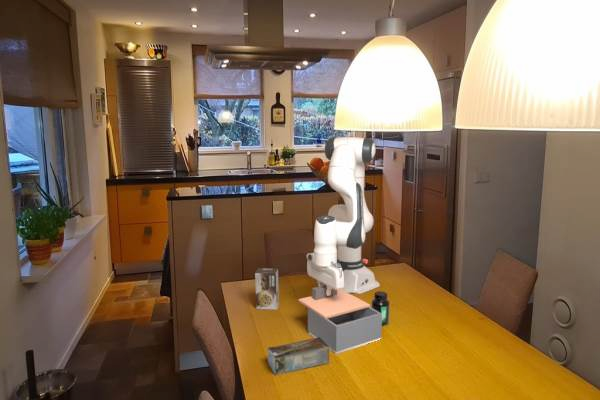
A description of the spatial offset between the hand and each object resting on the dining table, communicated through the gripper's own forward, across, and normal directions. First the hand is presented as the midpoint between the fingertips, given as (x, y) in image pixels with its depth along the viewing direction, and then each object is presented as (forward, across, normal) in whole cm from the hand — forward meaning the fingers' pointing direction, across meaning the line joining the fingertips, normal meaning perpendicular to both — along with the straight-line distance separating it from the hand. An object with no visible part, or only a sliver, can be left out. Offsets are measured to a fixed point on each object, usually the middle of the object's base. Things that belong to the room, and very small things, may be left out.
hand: (324, 293), depth 172 cm
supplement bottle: (+12, -11, -19) cm, 25 cm away
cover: (+2, -6, 0) cm, 6 cm away
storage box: (+12, -13, 0) cm, 18 cm away
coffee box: (+12, +25, +12) cm, 31 cm away
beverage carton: (+13, -20, +24) cm, 34 cm away
